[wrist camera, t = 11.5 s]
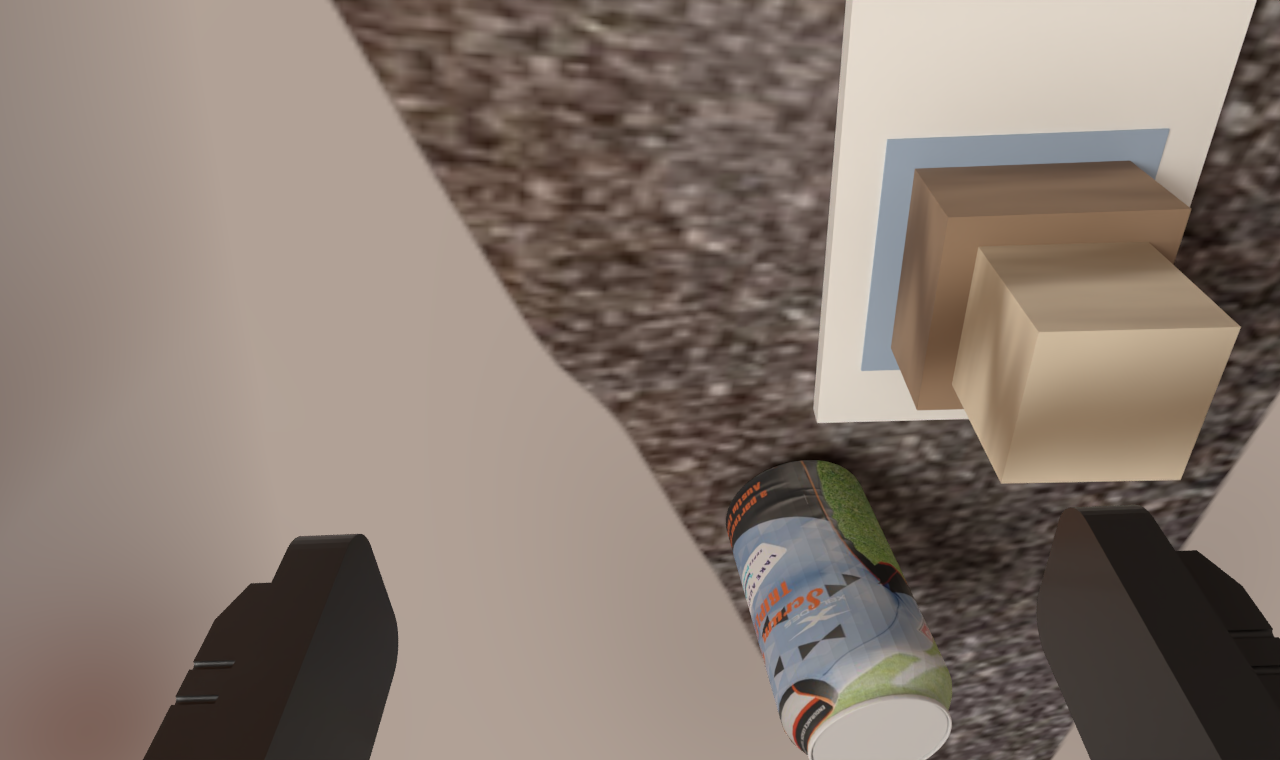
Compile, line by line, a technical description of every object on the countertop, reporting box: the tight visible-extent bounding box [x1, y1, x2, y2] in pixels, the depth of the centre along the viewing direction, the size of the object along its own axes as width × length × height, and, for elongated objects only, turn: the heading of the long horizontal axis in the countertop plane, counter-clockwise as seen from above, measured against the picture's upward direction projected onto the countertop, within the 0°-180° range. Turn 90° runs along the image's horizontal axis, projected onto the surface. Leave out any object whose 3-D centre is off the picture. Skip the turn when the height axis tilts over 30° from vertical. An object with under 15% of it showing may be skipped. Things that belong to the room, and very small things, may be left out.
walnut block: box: [891, 161, 1191, 410], centre depth 29 cm, size 7×7×4 cm
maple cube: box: [952, 242, 1241, 483], centre depth 26 cm, size 5×5×5 cm
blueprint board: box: [813, 0, 1257, 423], centre depth 31 cm, size 16×12×1 cm
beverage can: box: [726, 460, 952, 760], centre depth 34 cm, size 6×7×12 cm
